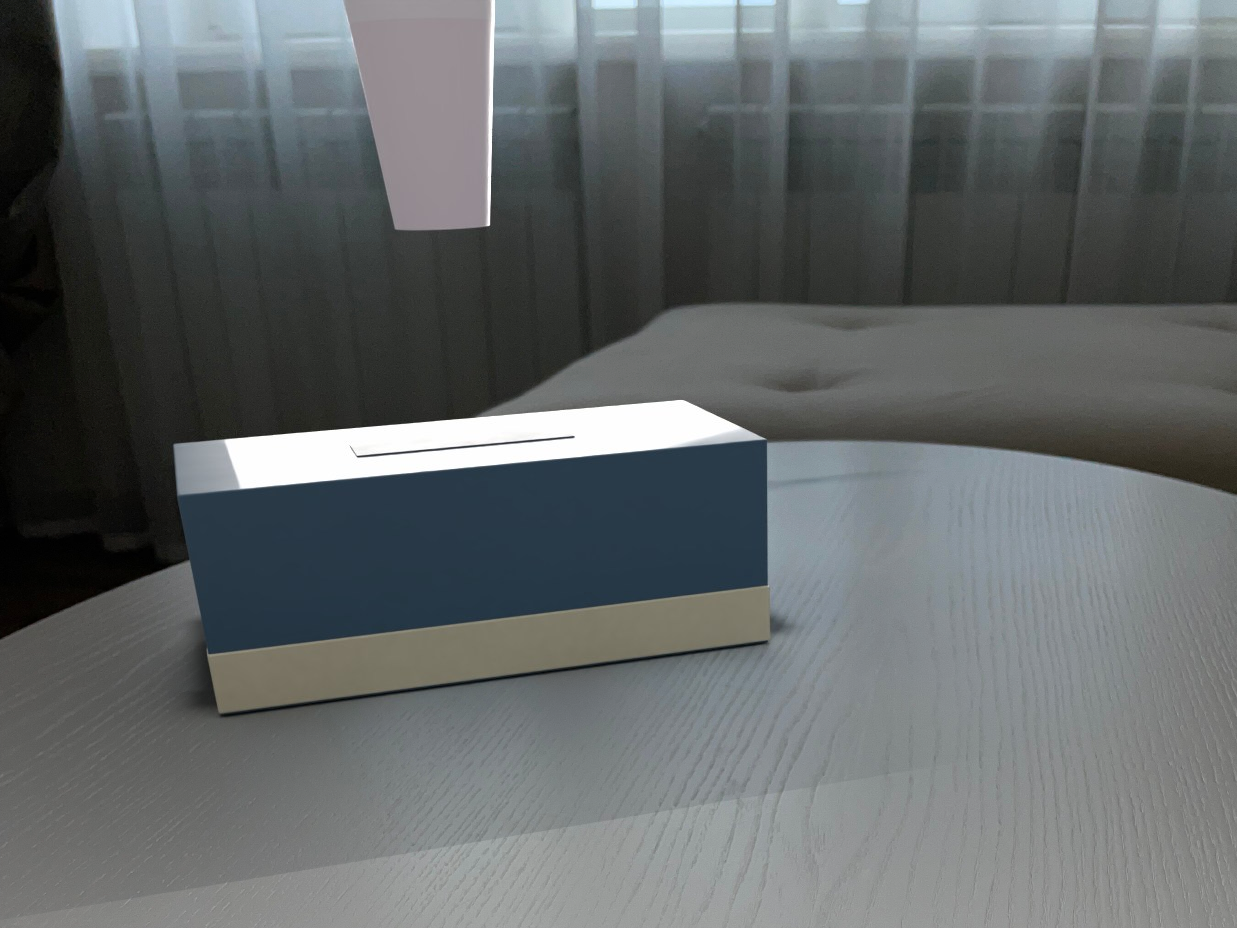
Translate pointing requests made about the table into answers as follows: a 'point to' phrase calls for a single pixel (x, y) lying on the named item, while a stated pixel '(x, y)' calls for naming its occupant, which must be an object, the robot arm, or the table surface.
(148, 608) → the table surface
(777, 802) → the table surface
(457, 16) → the smoothie
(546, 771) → the table surface
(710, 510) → the tissue box
